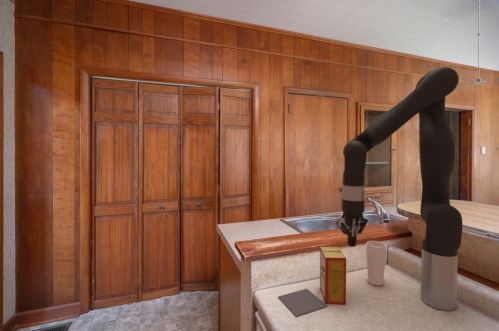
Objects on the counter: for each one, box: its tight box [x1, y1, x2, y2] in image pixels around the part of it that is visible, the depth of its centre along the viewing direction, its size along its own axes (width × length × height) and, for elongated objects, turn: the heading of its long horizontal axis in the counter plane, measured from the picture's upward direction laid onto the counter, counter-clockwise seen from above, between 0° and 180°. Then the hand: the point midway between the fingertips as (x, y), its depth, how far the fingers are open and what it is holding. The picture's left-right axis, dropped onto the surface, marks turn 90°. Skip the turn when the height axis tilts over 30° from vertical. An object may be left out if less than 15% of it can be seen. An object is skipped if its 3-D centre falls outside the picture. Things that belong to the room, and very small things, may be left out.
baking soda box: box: [319, 246, 347, 306], centre depth 85 cm, size 10×6×16 cm
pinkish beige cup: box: [365, 240, 387, 287], centre depth 93 cm, size 7×7×15 cm
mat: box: [277, 287, 328, 318], centre depth 82 cm, size 12×11×1 cm
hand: (351, 245), depth 88 cm, fingers closed
